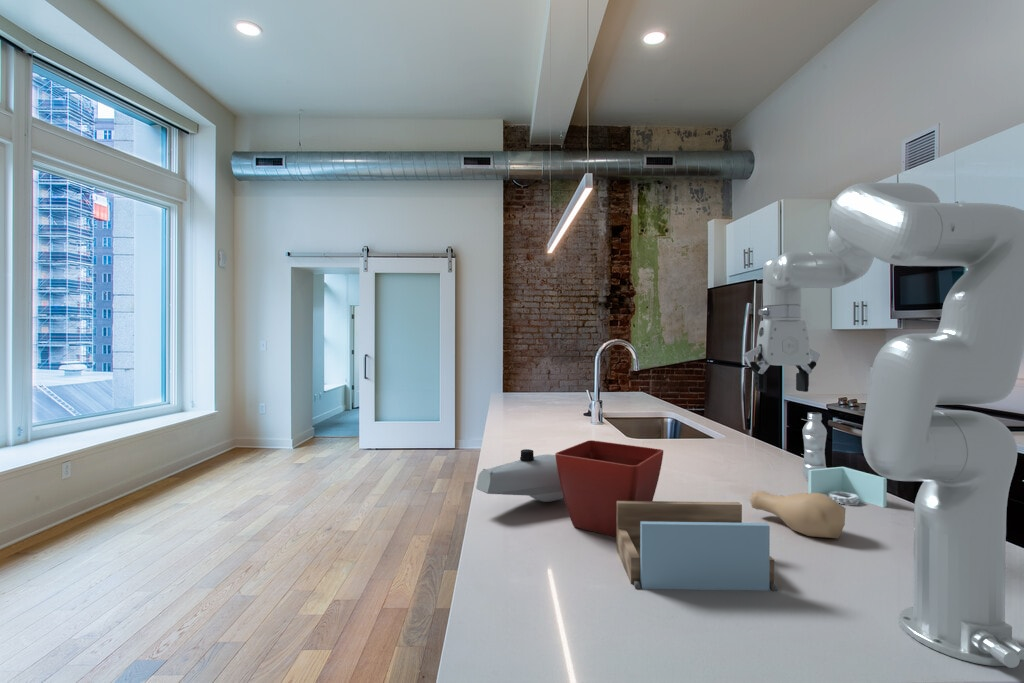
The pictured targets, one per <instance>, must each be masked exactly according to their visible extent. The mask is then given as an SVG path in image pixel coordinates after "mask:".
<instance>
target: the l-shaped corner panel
mask: <svg viewBox="0 0 1024 683" xmlns="http://www.w3.org/2000/svg"><path fill="white" fill-rule="evenodd" d="M887 479H888V478H885V477H883V476H881V475H876V474H872V473H867V472H865V471H860V470H857V469H854V468H850V467H846V466H836V467H834V466H833V467H826V468H824V469H813V470H808V479H807V481H808V482H807V484H808V486H807V491H808V492H807V493H821V494H825V495H827V496H828V497H830V498H831V499H833V500H834V501H835V502H837V503H838V504H839V503H840V505H841V504H845V505H844V506H847V505H849V506H858V505H859V504H860V501H862V502H865V503H867V504H871V505H875V506H878V507H880V508H887V505H888V504H887V503H888V502H887V498H888V497H887V491H888V490H887V488H888V487H887V486H888V484H887V483H888V480H887Z"/></svg>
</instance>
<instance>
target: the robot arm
mask: <svg viewBox="0 0 1024 683" xmlns="http://www.w3.org/2000/svg"><path fill="white" fill-rule="evenodd" d="M828 222H829V226H830V230H829V232H828V235H827V244H828V248H829V250H830V251H788V252H785V253H782V254H781V255H778V257H776V258H773V259H768V260H766V261H765V262H764V264H763V267H762V308H759V309H758V312H757V314H758V316H762V317H761V318H762V320H760V323H759V326H758V331H757V338H756V346H755V347H754V348H752V349H750V350H749V351H747V352H744V354H743V359H744V360H745V362H746V365H747V367H748V368H749V369H750V370H751V372H752V373H753V374H754V388H755V391H756V392H760V393H767V391H768V376H767V373H765V372H766V371H767V370H768V368H769V367H770V366H793V367H794V368H796V370H797V371H798V372H796V374H795V390H796V391H798V392H804V393H807V392H809V386H810V380H809V379H810V377H809V375H810V374H812V370H814V369H815V367H816V366H817V363H818V361H819V359H820V357H821V355H820V353H819V352H818V351H815V350H813V349H811V348H810V337H809V332H808V327H807V324H806V320H802V289H835V288H839V287H843V286H845V285H847V284H850V283H852V282H855V281H856V280H858V279H860V278H862V277H863V276H864V275H866V274H867V273H868V271H869V270H870V269H871V267H872V264H873V263H874V258H875V259H877V260H879V261H881V262H884V263H887V264H890V265H894V266H900V267H901V266H904V267H905V266H906V267H964V268H966V269H967V271H966V272H965V273H963V274H962V275H961V276H960V277H959V278H958V279H957V280H956V281H955V282H954V284H953V285H952V286H951V288H950V289H949V291H948V293H947V295H946V296H945V298H944V301H943V305H942V310H941V316H940V321H939V325H938V327H937V330H936V332H935V333H934V332H933V333H909V334H902V335H899V336H896V337H894V338H892V339H890V340H888V341H887V342H886V343H885V344H884V345H883V346H882V347H881V348H880V349H879V351H878V353H877V354H876V356H875V358H874V360H873V363H872V366H871V368H872V369H871V371H870V372H871V373H870V376H869V384H868V391H867V398H866V404H865V409H864V410H865V411H864V416H863V423H862V424H863V425H862V431H861V445H862V446H861V447H862V452H863V455H864V458H865V460H866V462H867V464H868V465H869V467H870V468H871V469H872V470H873V471H874V472H875V473H876V474H878V476H880V477H884V478H887V479H888V480H892V481H900V482H922V483H921V485H920V487H919V489H918V492H917V494H916V497H915V499H914V500H915V501H914V506H913V508H914V509H913V588H912V589H913V590H912V592H913V595H912V597H913V601H912V602H913V606H909V607H906V608H904V609H903V610H902V611H900V614H899V623H900V626H901V628H902V629H903V630H904V631H905V633H906V634H908V635H909V636H910V637H912V638H913V639H914V640H916V642H917V641H918V642H919V643H921V644H923V645H925V646H926V647H928V648H929V649H932V650H933V651H937V652H939V653H941V654H943V655H947V656H949V657H951V658H954V659H958V660H961V661H964V662H968V663H973V664H976V665H977V664H978V665H983V666H989V667H990V666H992V667H1007V668H1009V669H1011V668H1012V669H1014V668H1016V667H1018V666H1019V664H1020V661H1021V660H1023V661H1024V647H1023V646H1021V645H1020V644H1019V642H1018V641H1017V640H1015V638H1014V637H1013V626H1012V625H1010V624H1009V623H1007V622H1006V542H1007V541H1006V540H1007V539H1006V537H1007V507H1008V500H1009V499H1008V498H1009V492H1010V487H1011V483H1012V480H1013V477H1014V473H1015V469H1016V466H1017V461H1018V460H1017V459H1018V445H1017V441H1016V439H1015V437H1014V434H1012V431H1011V430H1010V429H1009V428H1008V427H1007V426H1006V425H1005V424H1004V423H1002V422H1001V421H1000V420H998V419H997V418H995V417H993V416H991V415H989V414H986V413H984V412H983V413H982V412H978V411H973V410H965V409H964V410H962V409H935V408H936V406H937V405H939V406H940V405H941V406H943V405H944V406H945V405H946V406H947V405H950V406H951V405H952V406H953V405H954V406H955V405H961V406H963V405H985V404H992V403H997V402H1000V401H1002V400H1004V399H1006V398H1007V397H1008V396H1009V395H1010V394H1011V393H1012V392H1013V390H1014V389H1015V386H1016V382H1017V379H1018V377H1019V372H1020V367H1021V363H1022V357H1023V353H1024V210H1023V209H1021V208H1017V207H1014V206H1010V205H1005V204H998V203H989V202H986V203H983V202H941V201H940V197H938V195H937V193H936V192H935V191H933V190H932V188H931V189H930V188H929V187H928V186H925V185H923V184H922V185H921V184H918V183H910V182H860V183H856V184H853V185H850V186H847V188H845V189H844V190H842V191H841V192H840V193H839V194H838V195H837V196H836V197H835V199H834V200H833V202H832V204H831V206H830V208H829V211H828ZM754 357H755V358H756V361H755V359H754Z"/></svg>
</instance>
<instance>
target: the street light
mask: <svg viewBox="0 0 1024 683" xmlns="http://www.w3.org/2000/svg"><path fill="white" fill-rule="evenodd" d="M476 482H477V483H476V486H475V487H476V490H478V491H479V492H480V491H481V492H483V493H485V494H487V495H505V496H506V495H507V496H526V497H527V496H529V497H530V498H533V499H534V500H537V501H539V502H543V503H549V502H556V501H559V500H561V499H564V497H563V493H562V489H561V485H560V481H559V476H558V470H557V464H556V456H555V454H540V455H535V456H534V450H532V449H527V448H526V449H525V448H524V449H521V450H520V457H519V460H515V461H512V462H507V463H504V464H500V465H497V466H493V467H490V468H487V469H486V468H483V469H482V470H481V471H480V472H479V474H478V476H477V481H476Z"/></svg>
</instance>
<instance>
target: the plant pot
mask: <svg viewBox="0 0 1024 683" xmlns="http://www.w3.org/2000/svg"><path fill="white" fill-rule="evenodd" d="M554 455H555V456H556V464H557V470H558V476H559V481H560V485H561V489H562V493H563V497H564V498H563V500H564V503H565V506H566V510H567V513H568V516H569V519H570V522H571V524H572V525H573V527H575V528H578V529H581V530H585V531H590V532H593V533H598V534H600V535H601V534H602V535H606V536H609V537H614V538H616V505H617V501H654V496H655V494H656V491H657V490H656V489H657V486H658V483H659V477H660V474H661V469H662V464H663V458H664V449H660V448H654V447H645V446H639V445H638V446H637V445H631V444H622V443H615V442H610V441H609V442H608V441H600V440H592V439H591V440H586V441H583V442H580V443H578V444H576V445H574V446H571V447H570V446H569V447H568V448H565V449H563V450H560V451H557V452H556V453H555V454H554Z"/></svg>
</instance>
